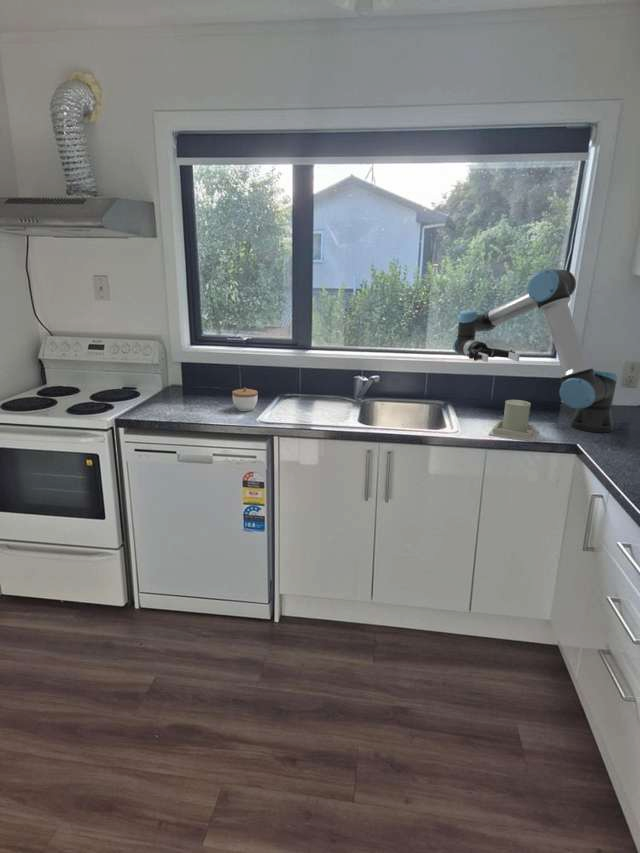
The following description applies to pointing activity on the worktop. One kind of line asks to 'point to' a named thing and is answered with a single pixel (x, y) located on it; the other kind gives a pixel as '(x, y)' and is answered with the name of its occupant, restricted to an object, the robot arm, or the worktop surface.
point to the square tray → (514, 432)
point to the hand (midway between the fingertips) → (502, 358)
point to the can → (516, 415)
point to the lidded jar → (245, 399)
